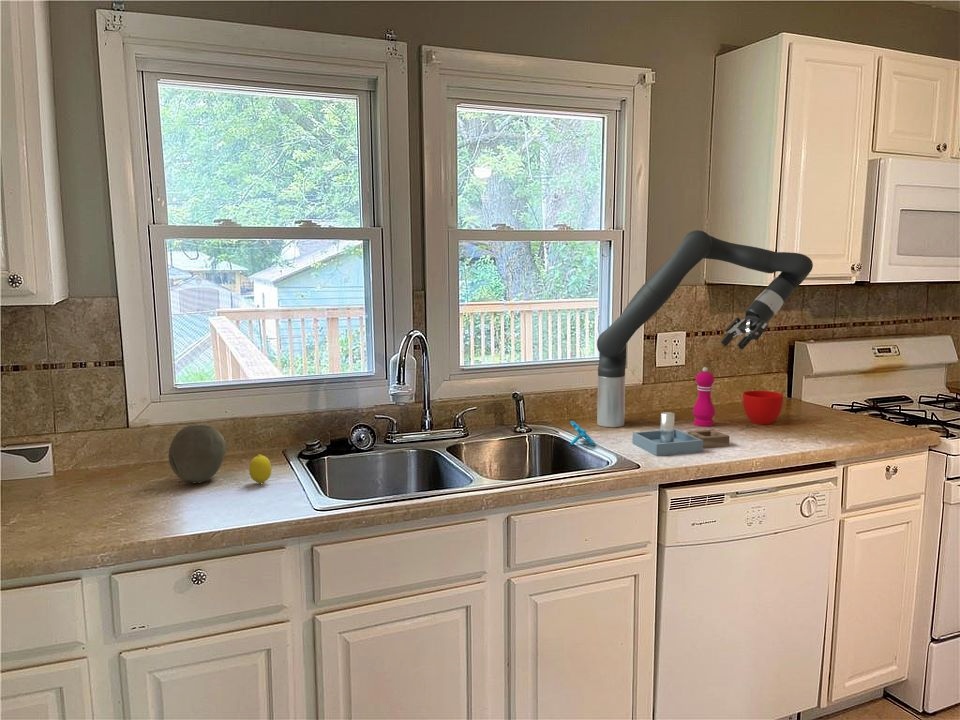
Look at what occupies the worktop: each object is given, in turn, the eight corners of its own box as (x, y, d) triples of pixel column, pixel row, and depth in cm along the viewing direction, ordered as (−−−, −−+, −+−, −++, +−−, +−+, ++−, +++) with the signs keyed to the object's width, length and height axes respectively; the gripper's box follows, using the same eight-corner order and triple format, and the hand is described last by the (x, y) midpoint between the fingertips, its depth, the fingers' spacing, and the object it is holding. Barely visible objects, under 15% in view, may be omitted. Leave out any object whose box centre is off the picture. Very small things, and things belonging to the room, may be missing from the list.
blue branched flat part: (596, 444, 213) (573, 420, 214) (582, 458, 214) (559, 434, 215) (596, 440, 224) (574, 417, 225) (583, 453, 225) (560, 430, 226)
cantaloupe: (223, 486, 183) (220, 430, 181) (165, 491, 181) (161, 434, 178) (231, 471, 197) (227, 418, 195) (176, 475, 194) (172, 421, 192)
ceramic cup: (784, 418, 251) (786, 390, 250) (779, 428, 237) (781, 399, 235) (746, 414, 258) (747, 387, 256) (739, 424, 243) (740, 395, 241)
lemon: (253, 481, 188) (251, 452, 187) (274, 480, 188) (272, 451, 187) (247, 487, 182) (246, 457, 181) (269, 487, 183) (268, 457, 182)
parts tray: (632, 443, 220) (632, 432, 220) (675, 439, 224) (676, 428, 224) (656, 456, 206) (656, 444, 205) (702, 451, 210) (702, 440, 209)
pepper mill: (691, 426, 241) (693, 368, 239) (693, 421, 248) (695, 365, 245) (713, 427, 239) (715, 369, 236) (715, 423, 245) (717, 366, 243)
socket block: (686, 440, 222) (687, 431, 222) (712, 438, 225) (712, 429, 224) (703, 448, 214) (703, 438, 213) (729, 445, 216) (729, 436, 216)
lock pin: (657, 443, 216) (658, 412, 215) (669, 442, 217) (670, 411, 216) (664, 446, 212) (665, 415, 211) (676, 445, 213) (677, 414, 212)
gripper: (743, 298, 225) (710, 335, 224) (772, 300, 212) (737, 340, 211) (757, 314, 228) (724, 351, 226) (786, 317, 214) (752, 357, 213)
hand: (731, 346), depth 218 cm, fingers open, 8 cm apart
